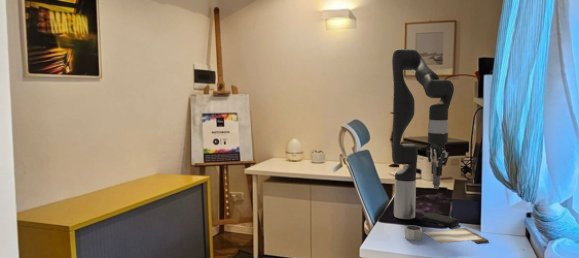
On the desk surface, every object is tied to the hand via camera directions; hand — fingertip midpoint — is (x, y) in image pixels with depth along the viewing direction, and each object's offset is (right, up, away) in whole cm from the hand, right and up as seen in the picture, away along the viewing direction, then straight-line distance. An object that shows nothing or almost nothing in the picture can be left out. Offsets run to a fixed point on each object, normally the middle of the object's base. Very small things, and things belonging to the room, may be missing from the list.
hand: (436, 174), depth 181 cm
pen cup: (-10, -25, -3) cm, 27 cm away
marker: (0, -5, +1) cm, 5 cm away
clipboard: (+6, -25, 0) cm, 26 cm away
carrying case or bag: (+7, -23, +18) cm, 30 cm away
